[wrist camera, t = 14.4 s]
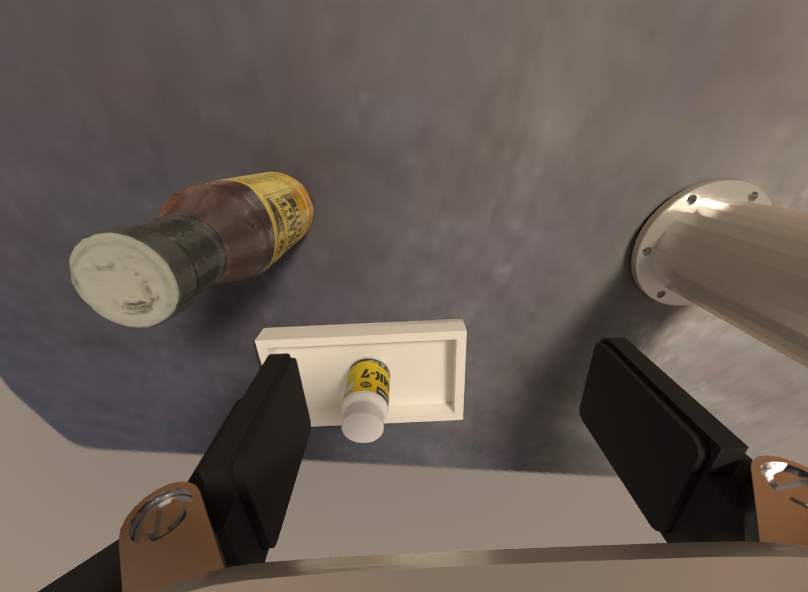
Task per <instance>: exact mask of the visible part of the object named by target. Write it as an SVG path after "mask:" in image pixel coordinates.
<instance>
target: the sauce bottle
mask: <svg viewBox="0 0 808 592" xmlns="http://www.w3.org/2000/svg"><path fill="white" fill-rule="evenodd" d="M313 218H314V205H313V201H312V197H311V194H310V192H309V191H308V190H307V189H306V188H305V187H304V186H303V185H302V183H300V182H299V181H298V180H296V179H295V178H294V177H292V176H290V175H287V174H283V173H279V172H265V173H259V174H253V175H247V176H241V177H235V178H229V179H223V180H216V181H212V182H209V183H207V184H203V185H197V186H196V185H195V186H192V187H189V188H186V189H183V190H182V191H179V192H178V193H175V194H173V195H172V197H171V198H170V199H169V200H168V202H167V203H165V205H164V206H163V208H162V210H161V212H160V214H159V216H158V218H156V219H155V220H154V221H153V222H150V223H147V224H144V225H140V226H138V225H118V226H116V227H112V228H109V229H105V230H103V231H100V232H97V233H94V234H91V235H89V236H86V237H84V238H83V239H82V240H81V242H80V243H78V244H77V245H76V246H75V248H74V250H73V252H72V254H71V256H70V261H69V263H70V271H71V278H72V283H73V285H74V287H75V289H76V290H77V292H78V294H79V295H80V296H81V298H82V299H83V300H84V301H85V302H86V303H88V304H89V305H90V306H91V307H92V308H93V309H94V310H95V311H96V312H97V313H98V314H100V315H101V316H103V317H105V318H107V319H109V320H111V321H113V322H116V323H119V324H121V325H125V326H128V327H138V328H144V327H152V326H155V325H158V324H161V323H164V322H165V321H167V320H169V319H171V318H173V317H174V316H175V315H177V314H179V313H180V312H182V311H184V310H185V309H186V308H187V307H188V306H189V305H190V304H191V303H192V301H193V298H194V297H195V296H196V295H197V294H199V293H200V292H202V291H203V290H204V289H206V288H208V287H210V286H214V285H219V284H224V283H230V282H235V281H240V280H246V279H251V278H255V277H257V276H260V275H261V274H262V273H263V272H265V271H266V270H267V269H268V268H269V267H270V266H272V265H273V264H274V263H275V262H276V261H277V260H278V259H279V258H280V257H281V256H283V255H284V254H285V253H286V252H287V251H288V250H289V249H290V248H291V247H292V246H293V245H294V244H295V243H297V242H298V241H299V240H300V239H301V238H302V237H303V236H304V235H305V234H306V233H307V231H308V230H309V228H310V226H311V223H312V221H313Z"/></svg>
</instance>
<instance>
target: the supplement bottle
mask: <svg viewBox="0 0 808 592" xmlns="http://www.w3.org/2000/svg"><path fill="white" fill-rule="evenodd" d="M389 390H390V370H389V367H388V366H387V364H386V363H385V362H384V361H382V360H381V359H378V358H376V357H369V356H368V357H362V358H359V359H357V360H356V361H355V362H354V363H353V364H352V365H351V367H350V370H349V375H348V379H347V383H346V388H345V392H344V397H343V401H342V407H341V410H342V415H343V420H342V431H343V433H344V435H345V436H346V437H347V438H348V439H350V440H352V441H354V442H358V443H368V442H372V441H375V440H376V439H378V438H379V437H380V436H381V435H382V433H383V429H384V421H385V419H386V417H387V415H388V410H389Z"/></svg>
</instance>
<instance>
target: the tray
mask: <svg viewBox="0 0 808 592" xmlns="http://www.w3.org/2000/svg"><path fill="white" fill-rule="evenodd" d="M466 334H467V330H466V328H465V325H464V322H463V319H446V320H425V321H404V322H383V323H362V324H341V325H320V326H299V327H278V328H263V330H262V331H261V333H260V334H259V336H258V337H257V338H256V340H255V343H256V347H257V350H258V354H259V357H260V360H261V364H262V365H263V363H264V361H265V360H266V358H267V356H268V355H270V354H283V353H288V354H290V356H291V358H296V360H297V364H298V368H299V372H300V377H301V381H302V385H303V390H304V394H305V398H306V403H307V407H308V411H309V416H310V420H311V427H313V426H335V425H342V420H343V415H342V410H341V407H342V401H343V397H344V392H345V388H346V383H347V379H348V375H349V370H350V367H351V365H352V364H353V363H354V362H355V361H356V360H357V359H359V358H362V357H368V356H369V357H376V358H378V359H381V360H382V361H384V362H385V363H386V364H387V366H388V367H389V370H390V390H389V410H388V415H387V417H386V419H385V421H384V423H400V422H422V421H444V420H463V403H464V380H465V357H466Z"/></svg>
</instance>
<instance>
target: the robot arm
mask: <svg viewBox="0 0 808 592" xmlns="http://www.w3.org/2000/svg"><path fill="white" fill-rule="evenodd" d="M631 269H632V275H633V277H634V280H635V283H636V284H637V285H638V287H639V288H640V290H641V291H643V292H644V293H645V294H646V295H647V296H649V297H651V298H652V299H654V300H656V301H658V302H661V303H664V304H667V305H675V306H682V305H692V304H695V305H697V306H699V307H701V308H703V309H704V310H706V311H708V312H710V313H711V314H713V315H715V316H717V317H718V318H720V319H722V320H724V321H726V322H727V323H729V324H731V325H733V326H734V327H736V328H738V329H740V330H742V331H743V332H745V333H747V334H749V335H750V336H752V337H754V338H756V339H757V340H759V341H761V342H763V343H765V344H766V345H768V346H770V347H772V348H773V349H775V350H777V351H779V352H780V353H782V354H784V355H786V356H788V357H789V358H791V359H793V360H795V361H796V362H798V363H800V364H802V365H803V366H805V367H807V368H808V213H807V212H801V211H796V210H790V209H785V208H780V207H774V206H772V204H771V202H770V200H769V198H768V197H767V195H766V194H765V193H764V192H763V191H762V190H761V189H759V188H758V187H756V186H755V185H753V184H750V183H747V182H743V181H738V180H730V179H719V180H710V181H706V182H702V183H698V184H696V185H693V186H691V187H689V188H686V189H684V190H683V191H681V192H679V193H678V194H676V195H674V196H673V197H671V198H670V199H669V200H668V201H666V202H665V203H664V204H663V205H661V206H660V207H659V208H658V209H657V210H656V211H655V212H654V213H653V214H652V216H651V217H650V218H649V219H648V221H647V222H646V223H645V225H644V226H643V228H642V229H641V231H640V233H639V235H638V237H637V239H636V242H635V245H634V248H633V251H632V258H631ZM579 410H580V416H581V419H582V421H583V422H584V424H585V425H586V427H587V428H588V430H589V431H590V433H591V435H592V436H593V438H594V439H595V441H596V442H597V444H598V445H599V447H600V448H601V450H602V451H603V453H604V455H605V456H606V458H607V459H608V461H609V462H610V464H611V465H612V467H613V468H614V470H615V471H616V473H617V475H618V476H619V478H620V479H621V481H622V482H623V484H624V485H625V487H626V488H627V490H628V492H629V493H630V495H631V496H632V497H633V499H634V501H635V502H636V504H637V505H638V507H639V508H640V510H641V512H642V513H643V515H644V516H645V518H646V519H647V521H648V522H649V524H650V525H651V526H652V528H654V529H655V530H656V531H660V533H661V534H662V536H663V537H664V539H665V540H666V542H667V543H656V544H629V545H602V546H576V547H554V548H553V547H552V548H528V549H505V550H481V551H459V552H437V553H418V554H396V555H375V556H355V557H336V558H321V559H308V560H292V561H277V562H265V560H266V556H267V553H268V550H269V548H274V547H275V545H276V543H277V541H278V538H279V534H280V531H281V527H282V524H283V521H284V517H285V514H286V510H287V507H288V504H289V501H290V497H291V494H292V491H293V487H294V484H295V481H296V477H297V474H298V471H299V467H300V464H301V461H302V457H303V454H304V451H305V447H306V444H307V441H308V437H309V434H310V429H311V420H310V416H309V411H308V407H307V403H306V398H305V394H304V390H303V385H302V381H301V377H300V372H299V368H298V364H297V360H296V358H291V356H290V354H288V353H283V354H270V355H268V356H267V358H266V360H265V361H264V363H263V365H262V366H261V368H260V370H259V371H258V373H257V375H256V376H255V378H254V380H253V381H252V383H251V385H250V387H249V388H248V390H247V392H246V393H245V395H244V397H243V398H241V399H240V400H238V401H237V402H236V404H235V405H234V407H233V408H232V410H231V412H230V413H229V415H228V417H227V418H226V420H225V421H224V423H223V425H222V426H221V428H220V430H219V431H218V433H217V435H216V436H215V438H214V439H213V441H212V443H211V444H210V446H209V448H208V449H207V451H206V453H205V454H204V456H203V457H202V459H201V461H200V462H199V464H198V466H197V467H196V469H195V471H194V472H193V474H192V476H191V477H190V479H189V480H188V482H176V483H172V484H168V485H166V486H164V487H161V488H159V489H157V490H155V491H154V492H152V493H151V494H149V495H148V496H146V497H145V498H144V499H143V500H142V501H141V502H139V503H138V504H137V505H136V506H135V507H134V508H133V510H132V511H131V512H130V513H129V514H128V516H127V517H126V519H125V521H124V523H123V525H122V527H121V529H120V534H119V539H118V540H117V541H115V542H114V543H112V544H111V545H109V546H108V547H106V548H104V549H103V550H102V551H100V552H98V553H97V554H95V555H94V556H92V557H91V558H89V559H88V560H86V561H85V562H83V563H82V564H80V565H78V566H77V567H75V568H74V569H72V570H71V571H69V572H68V573H66V574H65V575H63V576H61V577H60V578H58V579H57V580H55V581H54V582H52V583H51V584H49V585H48V586H46V587H45V588H43V589H41V590H40V591H38V592H808V467H805V466H803V465H801V464H799V463H796V462H794V461H791V460H788V459H784V458H781V457H775V456H767V455H766V456H758V457H756V458H755V459H753V460H752V459H751V458H750V457H749V456H747V455H746V454H745V452H746V451H747V449H748V446H747V445H746V444H745V443H743V442H742V441H741V440H740V439H739V438H738V437H737V436H735V435H734V434H733V433H732V432H731V431H730V430H729V429H728V428H726V427H725V426H724V425H723V424H722V423H721V422H720V421H719V420H717V419H716V418H715V417H714V416H713V415H712V414H711V413H710V412H708V411H707V410H706V409H705V408H704V407H703V406H702V405H700V404H699V403H698V402H697V401H696V400H695V399H694V398H693V397H691V396H690V395H689V394H688V393H687V392H686V391H685V390H684V389H682V388H681V387H680V386H679V385H678V384H677V383H676V382H674V381H673V380H672V379H671V378H670V377H669V376H668V375H667V374H665V373H664V372H663V371H662V370H661V369H660V368H659V367H658V366H656V365H655V364H654V363H653V362H652V361H651V360H650V359H649V358H647V357H646V356H645V355H644V354H643V353H642V352H641V351H639V350H638V349H637V348H636V347H635V346H634V345H633V344H632V343H630V342H629V341H628V340H627V339H625V338H604V339H602V340H601V341H600V343H598V344H596V345H595V348H594V352H593V356H592V360H591V364H590V368H589V372H588V376H587V380H586V384H585V388H584V392H583V396H582V400H581V404H580V409H579Z"/></svg>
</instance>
